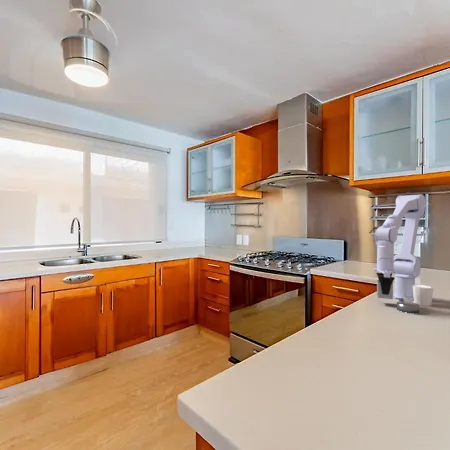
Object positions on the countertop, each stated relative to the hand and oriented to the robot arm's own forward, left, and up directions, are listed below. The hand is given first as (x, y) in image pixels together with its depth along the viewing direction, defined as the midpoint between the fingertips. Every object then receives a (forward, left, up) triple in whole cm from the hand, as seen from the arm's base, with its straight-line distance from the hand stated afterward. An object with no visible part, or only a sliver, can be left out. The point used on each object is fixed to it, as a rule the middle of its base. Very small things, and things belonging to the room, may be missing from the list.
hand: (384, 292), depth 115 cm
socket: (0, 0, -2) cm, 2 cm away
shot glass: (-7, +14, -5) cm, 16 cm away
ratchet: (+3, +7, -4) cm, 9 cm away
